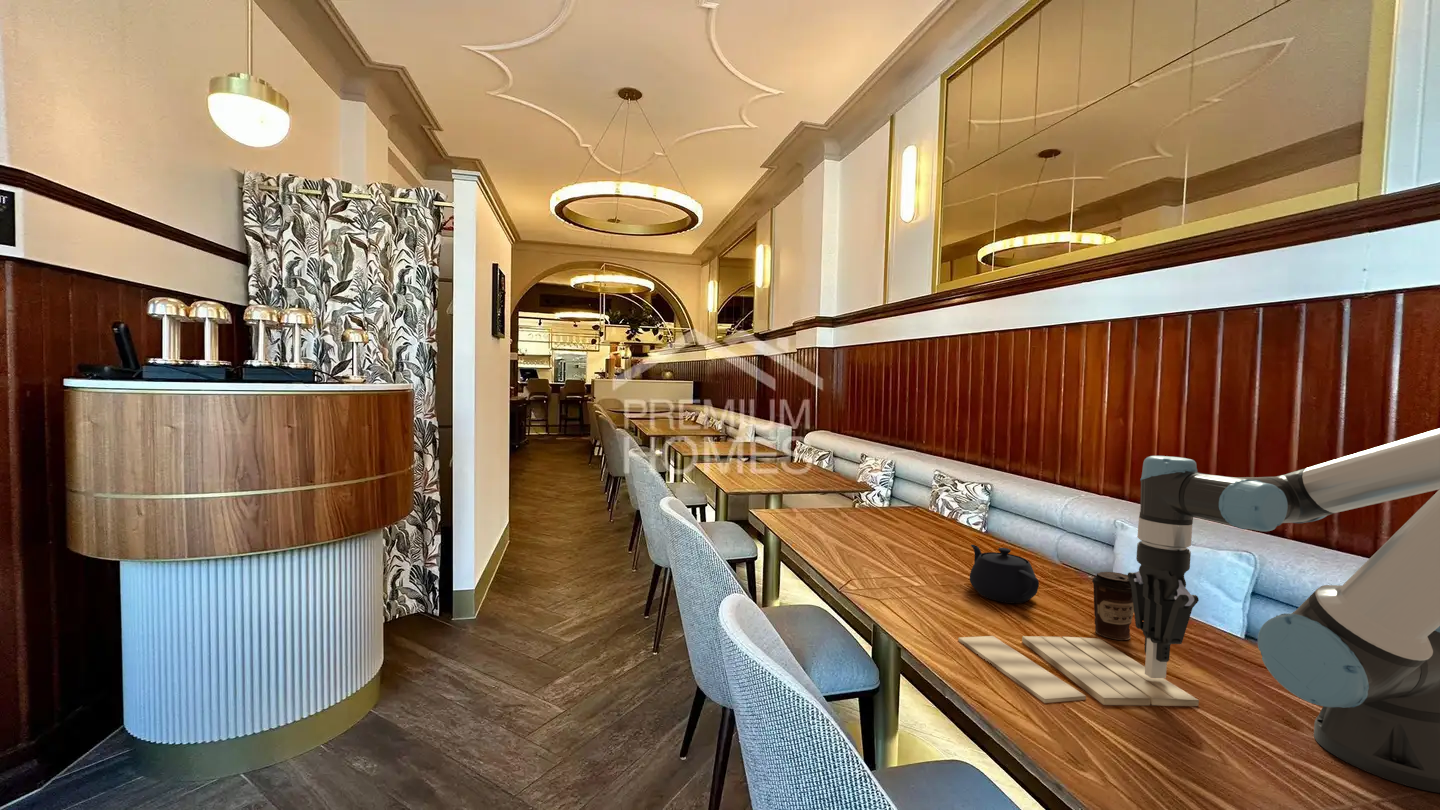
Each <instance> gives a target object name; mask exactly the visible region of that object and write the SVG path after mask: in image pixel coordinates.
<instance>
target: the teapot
mask: <svg viewBox="0 0 1440 810" xmlns="http://www.w3.org/2000/svg"><path fill="white" fill-rule="evenodd" d="M970 546H971V548H972V549H973V552H974V553H973V554H974V563H973V566H972V568H971V570H970V572H969V583H970V585H971V586H972V587H973V588H974V590H975V591H976V592H977V593H978V594H979V595H980V596H982V597H985V598H986V599H989V600H992V601H996V602H1000V603H1008V604H1021V603H1026V602H1028V601H1029V600H1030V599H1032V598H1034V597H1035V596H1036V595H1037V592H1038V590H1039V586H1040V585H1039V584H1040V583H1039V582H1040V581H1039V579H1038V578H1037V576H1036V574H1035V571H1034V569H1033V567H1032V565H1031V562H1030V561H1029V560H1028V559H1026V558H1025V557H1022V556H1018V555H1016V554H1015V555H1014V554H1011V552H1012V550H1011V549H1010V548H1008V547H1007V548H1006V547H999V548H998V551H999V552H989V551H988V552H983V553H982V551H981V549H980V547H979V546H977V545H975V544H971V545H970ZM1009 553H1010V554H1009Z"/></svg>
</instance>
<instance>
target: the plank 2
mask: <svg viewBox="0 0 1440 810" xmlns="http://www.w3.org/2000/svg"><path fill="white" fill-rule="evenodd" d="M1061 638H1062V639H1064V640H1065V641H1067V642H1068V643H1070V644H1071V645H1073V646H1074V647H1076V648H1077V649H1079V650H1080V651H1082V652H1083V653H1085V654H1086V655H1087V656H1089V657H1090V658H1092V659H1093V660H1095V661H1096V662H1098V663H1099V664H1101V665H1102V666H1104V667H1105V668H1107V669H1108V670H1110V671H1111V672H1112V673H1114V674H1115V675H1117V676H1118V677H1120V678H1121V679H1123V680H1124V681H1126V682H1127V683H1129V684H1130V685H1132V686H1133V687H1135V688H1136V689H1137V690H1139V691H1140V692H1142V693H1143V694H1145V695H1146V696H1148V697H1149V698H1150V706H1162V707H1163V706H1164V707H1165V706H1166V707H1170V706H1171V707H1199V702H1200V701H1199V699H1198V698H1196V697H1195V696H1193V695H1192V694H1189V693H1188V692H1187V691H1185V690H1183V689H1182V688H1180V687H1178V686H1177V685H1175V684H1174V683H1172V682H1170V681H1168V680H1167V679H1166V678H1150V677H1149V676H1147V675H1146V674H1145V665H1143V664H1142V663H1140V662H1138V661H1136V660H1135V659H1133V658H1132V657H1130V656H1128V655H1126V654H1125V653H1124V652H1122V651H1121V650H1119V649H1117V648H1116V647H1114V646H1112V645H1111V644H1109V643H1107V642H1106V641H1105V640H1102V639H1101V638H1098V637H1097V638H1095V637H1082V636H1079V637H1078V636H1077V637H1076V636H1061Z"/></svg>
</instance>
